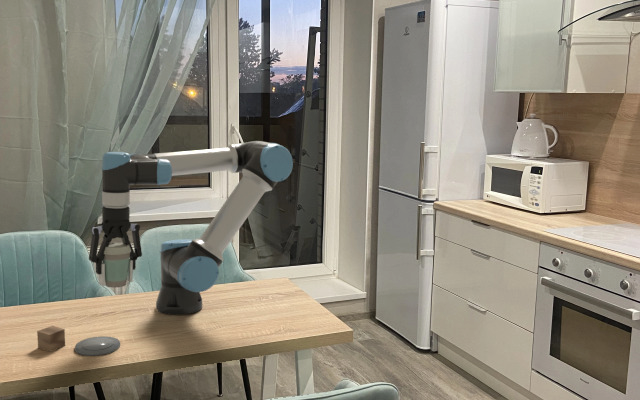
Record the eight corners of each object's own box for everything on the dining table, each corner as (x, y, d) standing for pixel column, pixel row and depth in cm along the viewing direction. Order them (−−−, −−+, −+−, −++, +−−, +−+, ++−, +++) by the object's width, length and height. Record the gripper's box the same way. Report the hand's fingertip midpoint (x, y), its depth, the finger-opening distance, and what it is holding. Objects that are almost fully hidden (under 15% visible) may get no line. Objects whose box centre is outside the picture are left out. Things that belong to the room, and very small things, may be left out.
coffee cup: (120, 279, 192) (120, 240, 190) (136, 285, 186) (137, 245, 185) (94, 284, 186) (94, 244, 184) (110, 290, 180) (110, 249, 178)
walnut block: (53, 342, 181) (52, 325, 180) (65, 346, 179) (64, 329, 178) (38, 348, 177) (37, 331, 176) (50, 352, 174) (49, 334, 174)
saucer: (110, 335, 187) (109, 332, 186) (127, 348, 178) (127, 345, 177) (68, 345, 179) (68, 341, 179) (84, 359, 170) (84, 355, 170)
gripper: (144, 201, 192) (143, 274, 195) (75, 206, 179) (76, 284, 182) (155, 205, 186) (154, 281, 189) (84, 210, 173) (84, 291, 177)
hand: (115, 282), depth 186 cm, fingers closed on coffee cup, 8 cm apart
